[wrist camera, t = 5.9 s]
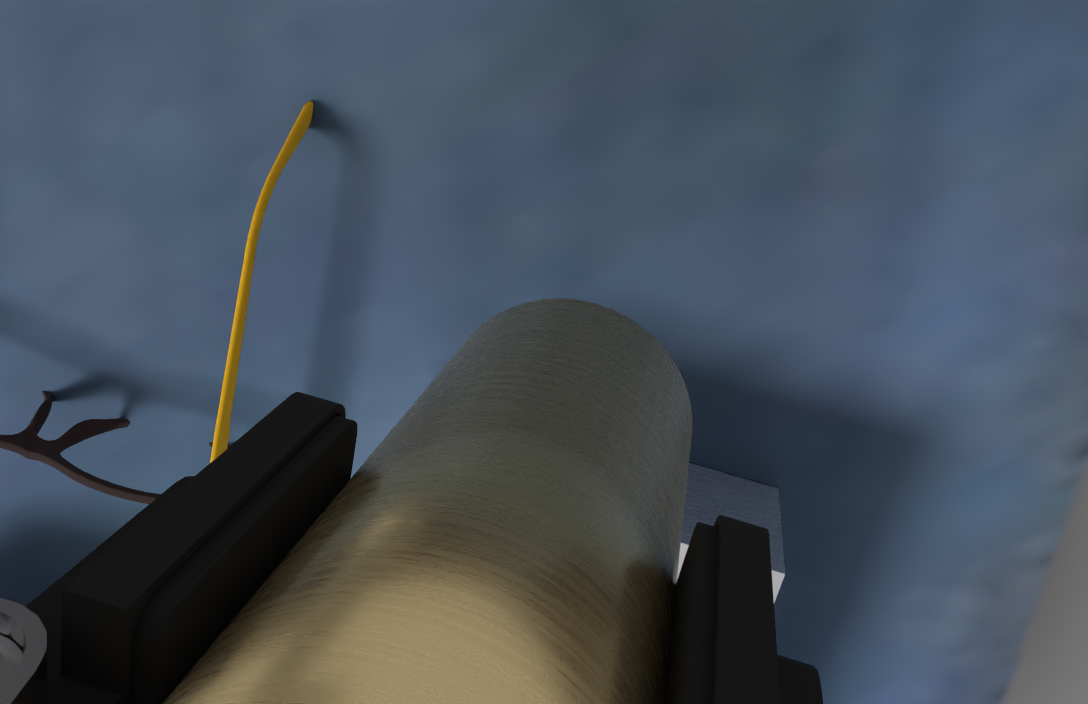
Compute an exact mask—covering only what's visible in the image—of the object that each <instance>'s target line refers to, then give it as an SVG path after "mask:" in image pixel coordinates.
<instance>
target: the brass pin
mask: <svg viewBox="0 0 1088 704" xmlns="http://www.w3.org/2000/svg"><path fill="white" fill-rule="evenodd" d="M692 426H693V422H692V408H691V403H690V398H689V394H688V391H687V388H686V385H685V382H684V380H683V377H682V375H681V373H680V371H679V370H678V368H677V366H676V364H675V362H674V361H673V359H672V358H671V357H670V355H669V354H668V352H667V351H666V350H665V348H664V347H663V346H662V345H661V344H660V343H659V342H658V341H657V340H656V339H655V338H654V337H653V336H652V335H651V334H650V333H649V332H647V331H646V330H645V329H644V328H643V327H641V326H640V325H639V324H637V323H636V322H634V321H632V320H631V319H629V318H628V317H626V316H624V315H622V314H620V313H618V312H616V311H614V310H612V309H609V308H606V307H603V306H600V305H598V304H595V303H590V302H585V301H580V300H573V299H543V300H537V301H532V302H526V303H523V304H520V305H517V306H514V307H511V308H509V309H507V310H505V311H503V312H501V313H499V314H497V315H495V316H494V317H492V318H491V319H489V320H488V321H486V322H485V323H484V324H482V325H481V326H480V327H479V328H478V329H477V330H476V331H475V332H474V333H473V334H472V335H471V336H470V337H469V338H468V339H467V341H466V342H465V343H464V344H463V345H462V347H461V348H460V349H459V350H458V351H457V353H456V354H455V355H454V356H453V357H452V359H451V360H450V361H449V362H448V363H447V365H446V366H445V367H444V368H443V369H442V371H441V372H440V373H439V374H438V375H437V376H436V378H435V379H434V380H433V381H432V382H431V384H430V385H429V386H428V387H427V388H426V390H425V391H424V392H423V393H422V394H421V396H420V397H419V398H418V399H417V400H416V402H415V403H414V404H413V405H412V406H411V407H410V409H409V410H408V411H407V412H406V413H405V415H404V416H403V417H402V418H401V419H400V421H399V422H398V423H397V424H396V425H395V427H394V428H393V429H392V430H391V431H390V433H389V434H388V435H387V436H386V437H385V439H384V440H383V441H382V442H381V443H380V444H379V446H378V447H377V448H376V449H375V450H374V452H373V453H372V454H371V455H370V456H369V458H368V459H367V460H366V461H365V462H364V464H363V465H362V466H361V467H360V468H359V470H358V471H357V472H356V473H355V474H354V476H353V477H352V478H351V479H350V480H349V481H348V483H347V484H346V485H345V486H344V487H343V489H342V490H341V491H340V492H339V493H338V495H337V496H336V497H335V498H334V499H333V501H332V502H331V503H330V504H329V505H328V507H327V508H326V509H325V510H324V511H323V513H322V514H321V515H320V516H319V517H318V518H317V520H316V521H315V522H314V523H313V524H312V526H311V527H310V528H309V529H308V530H307V532H306V533H305V534H304V535H303V536H302V538H301V539H300V540H299V541H298V542H297V544H296V545H295V546H294V547H293V548H292V550H291V551H290V552H289V553H288V554H287V555H286V557H285V558H284V559H283V560H282V561H281V563H280V564H279V565H278V566H277V567H276V569H275V570H274V571H273V572H272V573H271V575H270V576H269V577H268V578H267V579H266V581H265V582H264V583H263V584H262V585H261V586H260V588H259V589H258V590H257V591H256V592H255V594H254V595H253V596H252V597H251V598H250V600H249V601H248V602H247V603H246V604H245V606H244V607H243V608H242V609H241V610H240V612H239V613H238V614H237V615H236V616H235V618H234V619H233V620H232V621H231V622H230V623H229V625H228V626H227V627H226V628H225V629H224V631H223V632H222V633H221V634H220V635H219V637H218V638H217V639H216V640H215V641H214V643H213V644H212V645H211V646H210V647H209V649H208V650H207V651H206V652H205V653H204V655H203V656H202V657H201V658H200V659H199V660H198V662H197V663H196V664H195V665H194V666H193V668H192V669H191V670H190V671H189V672H188V674H187V675H186V676H185V677H184V678H183V680H182V681H181V682H180V683H179V684H178V686H177V687H176V688H175V689H174V690H173V692H172V693H171V694H170V695H169V696H168V697H167V699H166V700H165V701H164V702H163V703H162V704H663V701H664V691H665V682H666V673H667V663H668V654H669V644H670V635H671V625H672V616H673V606H674V597H675V587H676V582H677V573H678V564H679V554H680V544H681V535H682V525H683V516H684V506H685V496H686V487H687V477H688V467H689V458H690V448H691V438H692Z"/></svg>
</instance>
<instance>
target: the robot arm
mask: <svg viewBox="0 0 1088 704" xmlns="http://www.w3.org/2000/svg"><path fill="white" fill-rule="evenodd" d="M345 416H346V415H345V408H344V406H343V405H342V404H338V403H335V402H331V401H328V400H324V399H321V398H318V397H314V396H311V395H307V394H304V393H300V392H295V393H294V394H292V395H290V396H289V397H288V398H287V399H286V400H285V401H283V402H282V403H281V404H280V405H279V406H277V407H276V408H275V409H274V410H273V411H272V412H270V413H269V414H268V415H267V416H266V417H264V418H263V419H262V420H261V421H260V422H259V423H257V424H256V425H255V426H254V427H253V428H251V429H250V430H249V431H248V432H247V433H245V434H244V435H243V436H242V437H241V438H240V439H238V440H237V441H236V442H235V443H234V444H232V445H231V446H230V447H229V448H228V449H227V450H225V451H224V452H223V453H222V454H221V455H219V456H218V457H217V458H216V459H215V460H214V461H212V462H211V463H210V464H209V465H208V466H206V467H205V468H204V469H203V470H202V471H201V472H199V473H198V474H197V475H196V476H189V477H184V478H183V479H181V480H179V481H178V482H176V483H175V484H173V485H172V486H171V487H170V488H169V489H167V490H166V491H165V492H164V493H163V494H161V495H160V496H159V497H158V498H157V499H155V500H154V501H153V502H152V503H150V504H149V505H148V506H147V507H146V508H144V509H143V510H142V511H141V512H140V513H138V514H137V515H136V516H135V517H134V518H132V519H131V520H130V521H129V522H128V523H126V524H125V525H124V526H123V527H121V528H120V529H119V530H118V531H117V532H115V533H114V534H113V535H112V536H111V537H109V538H108V539H107V540H106V541H105V542H103V543H102V544H101V545H100V546H99V547H97V548H96V549H95V550H94V551H92V552H91V553H90V554H89V555H88V556H86V557H85V558H84V559H83V560H82V561H80V562H79V563H78V564H77V565H76V566H74V567H73V568H72V569H71V570H69V571H68V572H67V573H66V574H65V575H63V576H62V577H61V578H60V579H59V580H57V581H56V582H55V583H54V584H53V585H51V586H50V587H49V588H48V589H47V590H45V591H44V592H43V593H42V594H40V595H39V596H38V597H37V598H36V599H34V600H33V601H32V602H31V603H30V604H28V605H27V606H26V607H25V606H23V605H22V604H20V603H16V602H13V601H10V600H6V599H3V598H0V704H162V703H163V702H164V701H165V700H166V699H167V697H168V696H169V695H170V694H171V693H172V692H173V690H174V689H175V688H176V687H177V686H178V684H179V683H180V682H181V681H182V680H183V678H184V677H185V676H186V675H187V674H188V672H189V671H190V670H191V669H192V668H193V666H194V665H195V664H196V663H197V662H198V660H199V659H200V658H201V657H202V656H203V655H204V653H205V652H206V651H207V650H208V649H209V647H210V646H211V645H212V644H213V643H214V641H215V640H216V639H217V638H218V637H219V635H220V634H221V633H222V632H223V631H224V629H225V628H226V627H227V626H228V625H229V623H230V622H231V621H232V620H233V619H234V618H235V616H236V615H237V614H238V613H239V612H240V610H241V609H242V608H243V607H244V606H245V604H246V603H247V602H248V601H249V600H250V598H251V597H252V596H253V595H254V594H255V592H256V591H257V590H258V589H259V588H260V586H261V585H262V584H263V583H264V582H265V581H266V579H267V578H268V577H269V576H270V575H271V573H272V572H273V571H274V570H275V569H276V567H277V566H278V565H279V564H280V563H281V561H282V560H283V559H284V558H285V557H286V555H287V554H288V553H289V552H290V551H291V550H292V548H293V547H294V546H295V545H296V544H297V542H298V541H299V540H300V539H301V538H302V536H303V535H304V534H305V533H306V532H307V530H308V529H309V528H310V527H311V526H312V524H313V523H314V522H315V521H316V520H317V518H318V517H319V516H320V515H321V514H322V513H323V511H324V510H325V509H326V508H327V507H328V505H329V504H330V503H331V502H332V501H333V499H334V498H335V497H336V496H337V495H338V493H339V492H340V491H341V490H342V489H343V487H344V486H345V485H346V484H347V483H348V481H349V480H350V478H351V471H352V465H353V458H354V451H355V444H356V438H357V423H356V422H355V421H353V420H349V419H346V418H345ZM663 704H823V700H822V692H821V684H820V679H819V675H818V671H817V669H816V668H815V667H814V666H812V665H809V664H805V663H802V662H799V661H796V660H792V659H789V658H786V657H783V656H779V655H777V646H776V630H775V615H774V600H773V584H772V569H771V553H770V538H769V531H768V529H767V528H763V527H760V526H757V525H753V524H750V523H746V522H743V521H740V520H736V519H733V518H729V517H726V516H722V515H719V516H718V517H717V519H716V521H715V523H714V526H711V525H708V524H704V523H701V522H697V524H696V526H695V528H694V531H693V534H692V537H691V540H690V543H689V546H688V549H687V552H686V555H685V558H684V561H683V564H682V567H681V570H680V573H679V576H678V579H677V582H676V587H675V597H674V606H673V616H672V625H671V635H670V644H669V654H668V663H667V673H666V682H665V691H664V701H663Z"/></svg>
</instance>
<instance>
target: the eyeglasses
mask: <svg viewBox="0 0 1088 704" xmlns="http://www.w3.org/2000/svg"><path fill="white" fill-rule="evenodd" d="M312 113H313V102H311V101H308V102H307V103H306V104H305V106H304V107H303V109H302V111H301V113H300V114H299V116H298V118H297V120H296V122H295V124H294V126H293V128H292V130H291V132H290V134H289V136H288V138H287V139H286V141H285V143H284V145H283V147H282V149H281V151H280V153H279V155H278V157H277V159H276V161H275V163H274V165H273V167H272V169H271V171H270V173H269V175H268V177H267V180H266V182H265V184H264V187H263V189H262V192H261V194H260V197H259V200H258V202H257V205H256V208H255V211H254V215H253V219H252V222H251V226H250V230H249V235H248V239H247V244H246V250H245V256H244V262H243V268H242V274H241V280H240V286H239V291H238V297H237V303H236V309H235V315H234V321H233V327H232V333H231V339H230V345H229V351H228V357H227V362H226V368H225V374H224V380H223V386H222V392H221V398H220V404H219V410H218V416H217V422H216V428H215V434H214V440H213V442H212V443H209V445H210V446H211V447H212V453H211V460H210V463H211V462H212V461H214V460H215V459H216V458H217V457H218V456H219V455H221V454H222V453H223V452H224V451H225V450H227V449H228V448H229V446H228V440H229V433H230V419H231V413H232V406H233V399H234V393H235V386H236V379H237V373H238V366H239V359H240V353H241V346H242V339H243V332H244V326H245V319H246V312H247V306H248V299H249V292H250V286H251V279H252V272H253V266H254V259H255V252H256V246H257V241H258V236H259V232H260V228H261V224H262V221H263V217H264V213H265V211H266V208H267V205H268V202H269V199H270V196H271V194H272V191H273V189H274V186H275V184H276V182H277V180H278V178H279V176H280V174H281V172H282V170H283V168H284V167H285V165H286V163H287V162H288V160H289V158H290V157H291V155H292V154H293V152H294V150H295V149H296V147H297V145H298V144H299V142H300V140H301V139H302V137H303V135H304V134H305V132H306V131H307V129H308V127H309V125H310V122H311V118H312ZM42 393H43V395H44V398H45V399H44V402H43V403H42V405H41V406H40V407H39V409H38V410H37V412H36V414H35V416H34V417H33V419H32V421H31V422H30V424H29V426H28V427H27V428H26V429H25V430H23V431H22V432H20V433H18V434H14V435H0V448H3V449H7V450H10V451H13V452H16V453H18V454H20V455H22V456H24V457H26V458H28V459H32V460H38V461H41V462H43V463H46V464H48V465H50V466H52V467H54V468H55V469H57V470H59V471H60V472H62V473H63V474H65V475H66V476H68V477H69V478H71V479H73V480H75V481H77V482H78V483H81V484H83V485H85V486H88V487H90V488H92V489H95V490H98V491H101V492H103V493H106V494H109V495H112V496H116V497H120V498H123V499H127V500H131V501H136V502H140V503H145V504H150V503H152V502H153V501H154V500H155V499H157V498H158V497H159V496H160V495H161V494H155V493H147V492H143V491H138V490H134V489H130V488H126V487H123V486H120V485H116V484H113V483H110V482H108V481H105V480H102V479H100V478H97V477H95V476H93V475H91V474H88V473H86V472H84V471H82V470H80V469H79V468H77V467H75V466H74V465H72V464H71V463H69V462H68V461H67V460H65V459H64V458H63V457H62V456H61V455H60V453H61V452H62V451H63V450H65V449H66V448H68V447H70V446H72V445H74V444H76V443H78V442H81V441H83V440H85V439H88V438H90V437H93V436H95V435H98V434H101V433H104V432H107V431H111V430H114V429H118V428H124V427H128V425H129V424H130V421H128V420H125V419H122V418H120V419H90V420H85V421H82V422H80V423H78V424H76V425H75V426H73V427H72V428H70V429H69V430H68V431H67V432H66V433H65V434H63V435H62V436H61V437H60V438H59V439H57V440H52V441H47V440H43V439H41V438H39V437H38V436H37V434H38V432H39V431H40V429H41V427H42V426H43V424H44V422H45V421H46V419H47V417H48V415H49V412H50V410H51V406H52V394H51V393H49V392H46V391H42Z"/></svg>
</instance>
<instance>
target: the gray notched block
mask: <svg viewBox="0 0 1088 704" xmlns="http://www.w3.org/2000/svg"><path fill="white" fill-rule="evenodd" d="M719 515H722V516H726V517H729V518H733V519H736V520H740V521H743V522H746V523H750V524H753V525H757V526H760V527H763V528H767V529H768V531H769V538H770V553H771V569H772V584H773V600H774V602H775V600H776V597H777V595H778V592H779V589H780V587H781V584H782V581H783V579H784V576H785V564H784V552H783V540H782V527H781V515H780V503H779V490H778V488H775V487H771V486H768V485H764V484H761V483H758V482H754V481H751V480H747V479H744V478H740V477H737V476H733V475H730V474H727V473H723V472H720V471H716V470H713V469H709V468H706V467H702V466H699V465H696V464H692V463H689V467H688V477H687V487H686V496H685V506H684V516H683V525H682V535H681V544H680V554H679V564H678V573H677V579H678V576H679V573H680V570H681V567H682V564H683V561H684V558H685V555H686V552H687V549H688V546H689V543H690V540H691V537H692V534H693V531H694V528H695V526H696V524H697V522H701V523H704V524H708V525H711V526H714V523H715V521H716V519H717V517H718V516H719Z"/></svg>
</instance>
